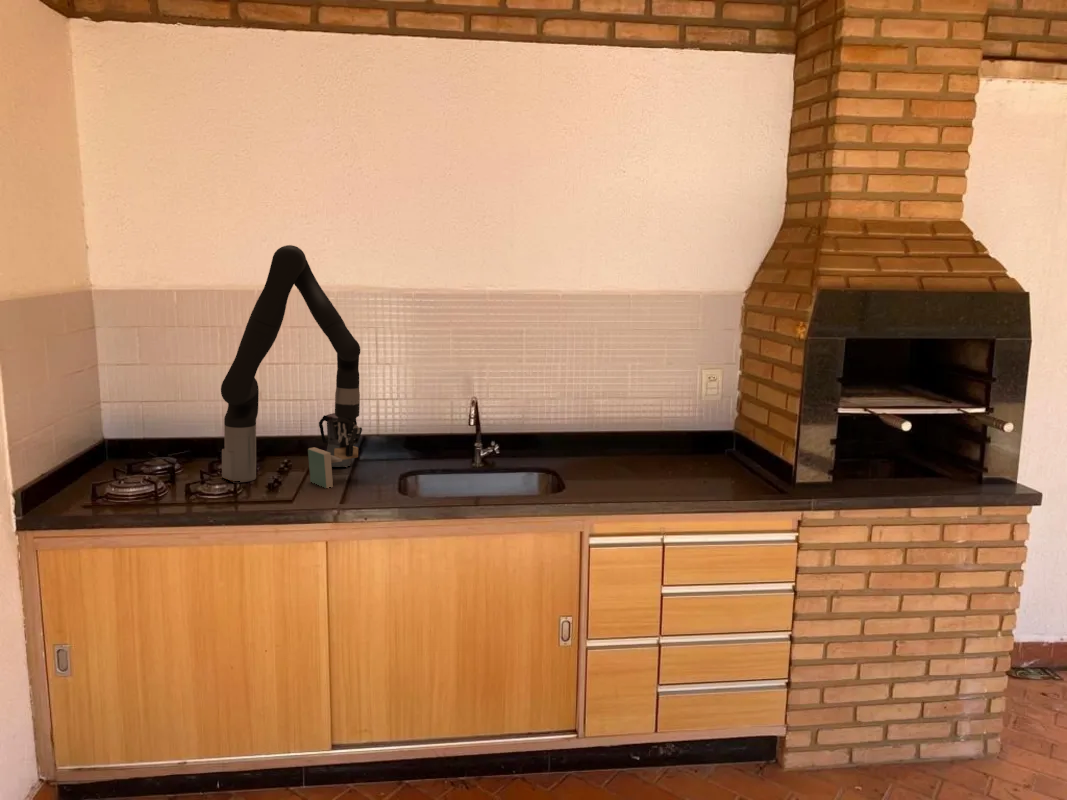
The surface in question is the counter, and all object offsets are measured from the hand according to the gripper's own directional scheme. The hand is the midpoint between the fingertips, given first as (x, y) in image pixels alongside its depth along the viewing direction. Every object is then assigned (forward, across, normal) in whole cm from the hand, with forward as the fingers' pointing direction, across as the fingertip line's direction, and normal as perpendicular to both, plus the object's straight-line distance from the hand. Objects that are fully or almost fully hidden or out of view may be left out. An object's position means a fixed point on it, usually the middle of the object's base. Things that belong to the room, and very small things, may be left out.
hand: (346, 454), depth 256 cm
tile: (+3, 0, -9) cm, 10 cm away
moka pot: (+9, -17, +8) cm, 20 cm away
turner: (+1, 0, -2) cm, 3 cm away
